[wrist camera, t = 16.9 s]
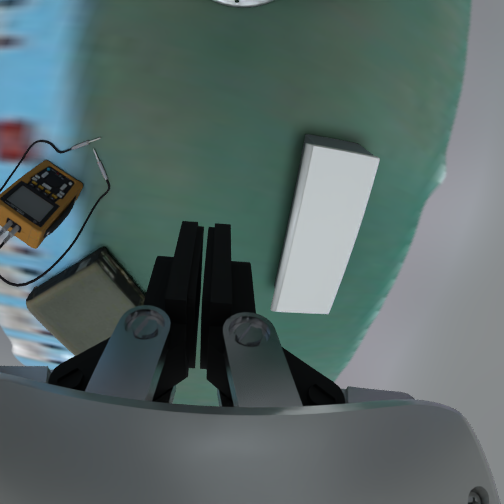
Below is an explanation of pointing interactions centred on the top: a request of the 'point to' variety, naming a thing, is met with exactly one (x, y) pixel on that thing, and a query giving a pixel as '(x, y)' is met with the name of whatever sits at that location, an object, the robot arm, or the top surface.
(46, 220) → the multimeter
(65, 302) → the network switch
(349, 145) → the block
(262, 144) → the top surface
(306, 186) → the panel
